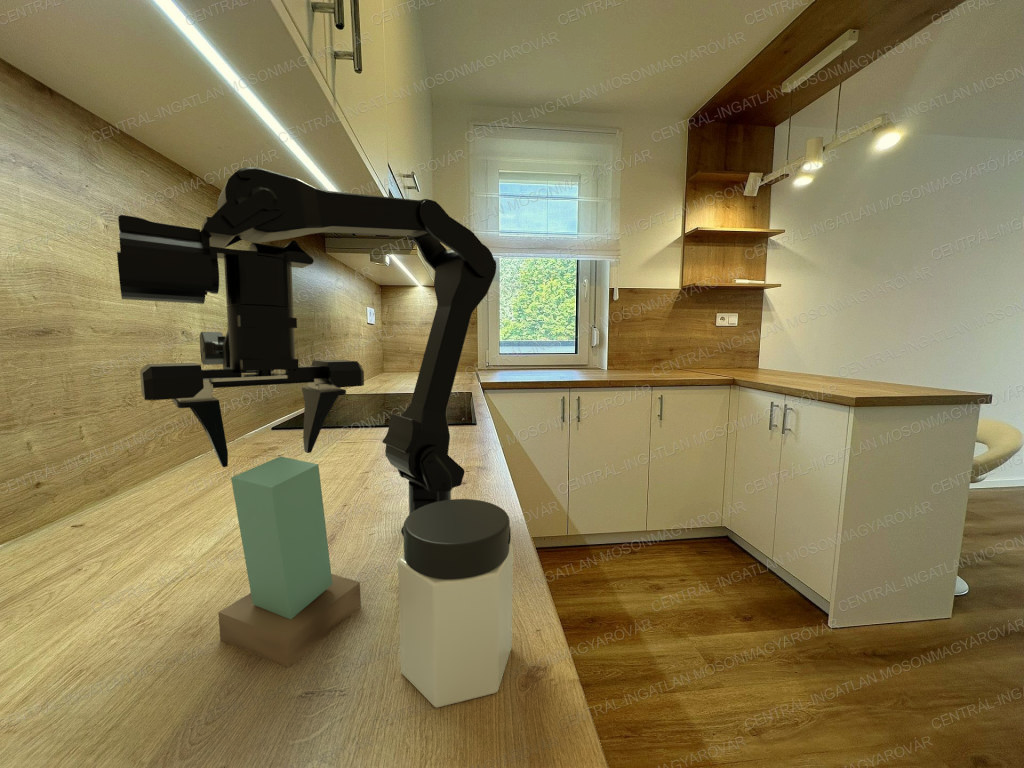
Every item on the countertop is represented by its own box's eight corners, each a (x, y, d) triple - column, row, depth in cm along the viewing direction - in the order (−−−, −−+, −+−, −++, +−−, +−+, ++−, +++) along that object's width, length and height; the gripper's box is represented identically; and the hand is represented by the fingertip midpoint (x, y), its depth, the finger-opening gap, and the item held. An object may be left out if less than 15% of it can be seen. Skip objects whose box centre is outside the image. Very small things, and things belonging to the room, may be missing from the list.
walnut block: (299, 591, 42) (298, 564, 42) (361, 611, 40) (360, 582, 39) (220, 644, 35) (218, 612, 35) (288, 673, 32) (286, 638, 32)
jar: (533, 662, 33) (536, 519, 32) (454, 732, 27) (452, 560, 26) (461, 611, 39) (461, 489, 38) (383, 659, 33) (379, 517, 32)
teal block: (296, 571, 40) (280, 456, 37) (332, 584, 38) (318, 464, 35) (252, 604, 36) (231, 477, 33) (290, 619, 34) (271, 487, 31)
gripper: (326, 315, 53) (330, 432, 55) (132, 305, 40) (144, 459, 42) (364, 311, 45) (367, 449, 47) (137, 297, 32) (152, 488, 34)
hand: (268, 458), depth 43 cm, fingers open, 7 cm apart
